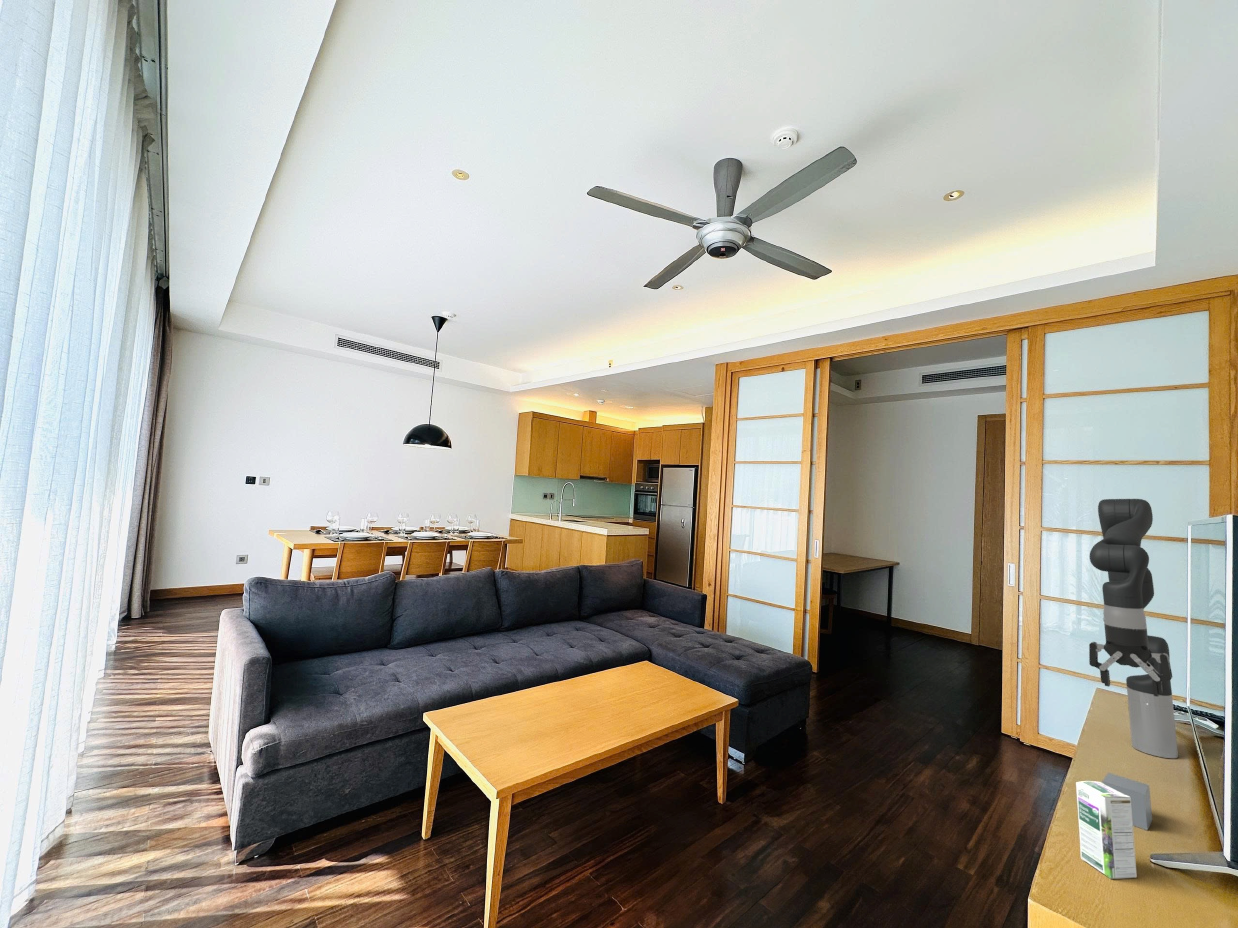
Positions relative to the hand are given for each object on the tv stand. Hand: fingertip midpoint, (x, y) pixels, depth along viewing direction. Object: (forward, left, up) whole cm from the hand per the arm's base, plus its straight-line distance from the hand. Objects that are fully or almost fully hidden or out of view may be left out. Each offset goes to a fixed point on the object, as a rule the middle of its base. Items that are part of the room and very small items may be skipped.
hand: (1131, 690), depth 122 cm
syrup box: (+42, +1, -25) cm, 49 cm away
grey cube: (+15, 0, -25) cm, 29 cm away
